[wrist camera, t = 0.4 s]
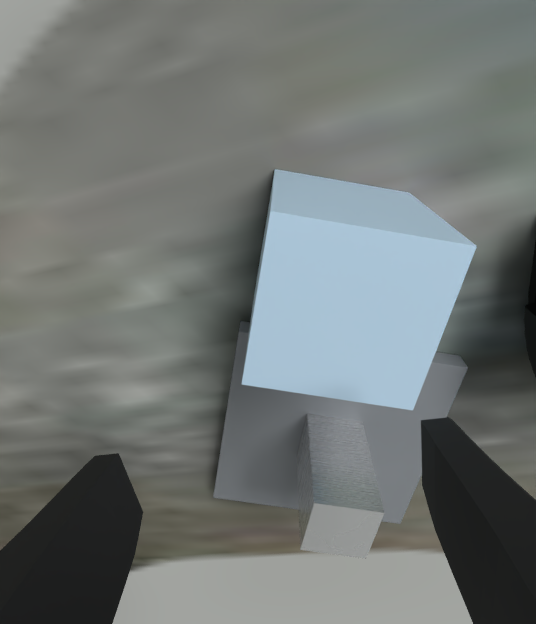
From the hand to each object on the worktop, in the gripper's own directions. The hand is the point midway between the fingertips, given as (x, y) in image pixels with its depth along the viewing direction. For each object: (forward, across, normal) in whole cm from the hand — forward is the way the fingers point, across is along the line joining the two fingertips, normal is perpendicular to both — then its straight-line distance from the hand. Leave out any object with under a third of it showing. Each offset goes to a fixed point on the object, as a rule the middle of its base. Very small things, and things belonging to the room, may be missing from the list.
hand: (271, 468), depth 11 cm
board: (+10, -1, +7) cm, 12 cm away
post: (+10, -1, +7) cm, 12 cm away
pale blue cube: (+10, -2, -2) cm, 10 cm away
